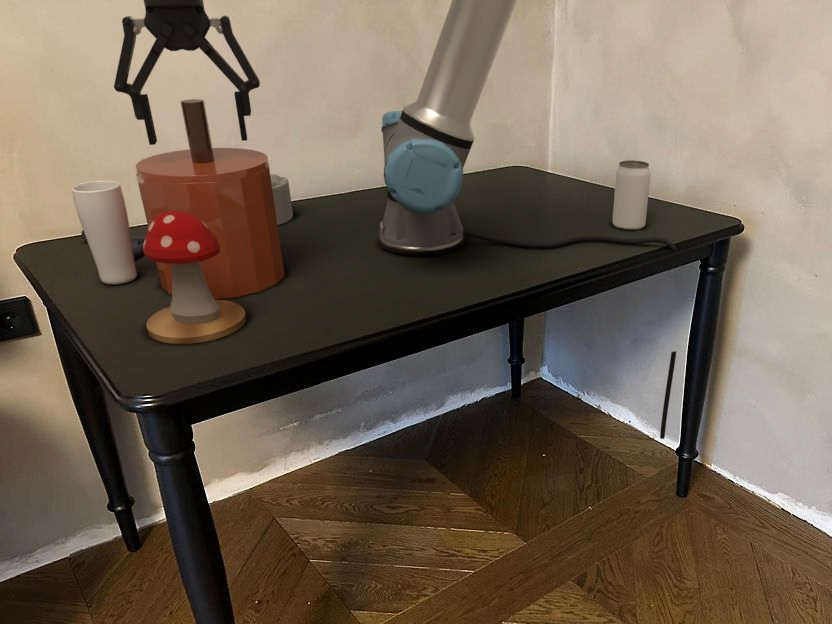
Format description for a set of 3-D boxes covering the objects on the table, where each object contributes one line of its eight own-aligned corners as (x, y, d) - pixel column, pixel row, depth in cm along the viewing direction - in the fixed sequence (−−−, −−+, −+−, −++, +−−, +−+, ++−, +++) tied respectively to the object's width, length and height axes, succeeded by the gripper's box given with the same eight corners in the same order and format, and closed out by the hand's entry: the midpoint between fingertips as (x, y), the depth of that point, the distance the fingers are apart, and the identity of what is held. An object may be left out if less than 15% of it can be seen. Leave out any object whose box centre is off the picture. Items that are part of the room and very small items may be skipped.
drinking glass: (96, 290, 117) (70, 193, 109) (95, 276, 122) (70, 183, 115) (144, 283, 119) (122, 188, 112) (141, 269, 125) (119, 178, 117)
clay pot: (282, 253, 132) (259, 89, 119) (286, 292, 117) (259, 109, 104) (168, 263, 128) (131, 93, 115) (156, 305, 112) (111, 114, 99)
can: (630, 232, 145) (636, 169, 139) (605, 224, 149) (609, 163, 143) (652, 226, 148) (658, 164, 143) (627, 218, 153) (632, 158, 147)
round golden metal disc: (246, 301, 114) (245, 295, 113) (245, 338, 103) (244, 331, 102) (153, 310, 110) (151, 304, 110) (142, 349, 99) (140, 342, 99)
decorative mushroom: (145, 325, 103) (118, 218, 96) (183, 302, 111) (160, 200, 103) (210, 333, 101) (188, 224, 94) (244, 308, 109) (226, 205, 101)
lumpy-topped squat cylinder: (218, 221, 148) (210, 177, 144) (274, 207, 157) (268, 165, 153) (248, 232, 142) (241, 186, 138) (305, 217, 151) (300, 173, 147)
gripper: (62, -26, 95) (105, 150, 106) (263, -24, 101) (285, 142, 112) (74, -27, 101) (114, 139, 112) (262, -25, 108) (283, 132, 118)
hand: (199, 141), depth 112 cm, fingers open, 12 cm apart
